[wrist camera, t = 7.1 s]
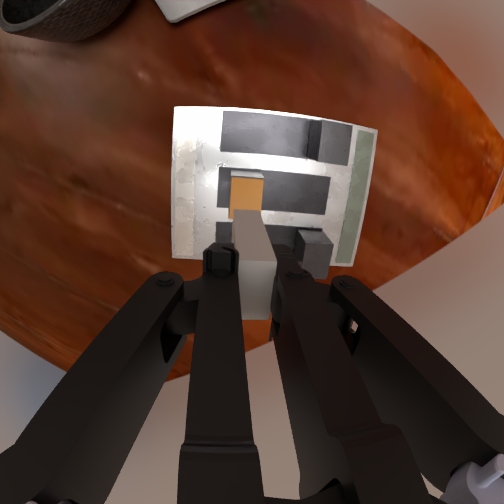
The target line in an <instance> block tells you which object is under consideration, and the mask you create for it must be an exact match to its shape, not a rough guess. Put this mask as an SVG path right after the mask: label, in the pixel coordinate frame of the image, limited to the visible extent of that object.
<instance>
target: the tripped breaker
mask: <svg viewBox="0 0 504 504" xmlns="http://www.w3.org/2000/svg"><path fill="white" fill-rule="evenodd" d="M263 188H264V176H263V175H262V173H261V172H259V171H245V170H231V179H230V194H229V211H228V218H229V219H233V209H241V210H259V212H260V214H261V209H262V198H263Z"/></svg>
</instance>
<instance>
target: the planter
mask: <svg viewBox="0 0 504 504" xmlns="http://www.w3.org/2000/svg"><path fill="white" fill-rule="evenodd" d="M130 1H131V0H0V28H1V29H2V30H4V31H5V32H7V33H10V34H15V35H20V36H25V37H30V38H35V39H39V40H45V41H50V42H73V41H79V40H82V39H85V38H88V37H90V36H93V35H94V34H96V33H98V32H100V31H101V30H103V29H105V28H106V27H107V26H109V25H110V24H111V23H113V22H114V21H115V20H116V19H117V18H118V17H119V16H120V15H121V14H122V13H123V11H124V10H125V9H126V7H127V6H128V5H129V3H130Z"/></svg>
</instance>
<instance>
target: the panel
mask: <svg viewBox="0 0 504 504" xmlns="http://www.w3.org/2000/svg"><path fill="white" fill-rule="evenodd" d="M377 131H378V130H375V129H371V128H367V127H363V126H359V125H354V124H350V123H345V122H340V121H335V120H330V119H324V118H318V117H312V116H306V115H299V114H292V113H284V112H276V111H267V110H256V109H244V108H227V107H175V108H174V123H173V141H172V170H171V232H172V258H183V259H201V260H203V251H204V250H205V249H206V248H208V247H209V246H210V245H211V244H212V243H213V242H217V243H232V224H233V219H229V218H228V211H229V194H230V179H231V170H245V171H259V172H261V173H262V175H263V176H264V188H263V198H262V209H261V217H262V220H263V223H264V226H265V228H266V231H267V234H268V237H269V240H270V242H271V244H285V245H287V246H288V247H289V248H291V250H292V252H293V255H294V256H295V259H296V260H297V262H298V264H299V266H300V268H303V269H305V270H307V271H309V272H310V274H311V275H312V277H313V278H314V279H327V275H328V270H329V266H353V262H354V258H355V254H356V250H357V245H358V241H359V237H360V232H361V228H362V223H363V218H364V213H365V208H366V203H367V198H368V192H369V187H370V181H371V175H372V168H373V162H374V155H375V147H376V140H377Z"/></svg>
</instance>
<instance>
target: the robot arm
mask: <svg viewBox="0 0 504 504" xmlns="http://www.w3.org/2000/svg"><path fill="white" fill-rule="evenodd" d="M270 312H271V313H272V322H271V329H270V335H269V341H272V337H273V340H274V345H275V350H276V355H277V360H278V365H279V369H280V374H281V379H282V384H283V389H284V394H285V399H286V404H287V409H288V414H289V419H290V424H291V429H292V434H293V439H294V444H295V449H296V454H297V459H298V464H299V469H300V483H299V495H300V500H291V499H281V498H272V497H264V492H263V484H262V476H261V467H260V460H259V453H258V449H257V446H256V445H255V444H254V439H253V432H252V422H251V412H250V402H249V392H248V381H247V372H246V361H245V349H244V337H243V326H242V320H269V319H270ZM353 321H355V322H356V323H357V324H358V327H357V330H356V332H355V331H354V330H353V329H352V328H351V327H352V324H353ZM191 333H195V335H194V344H193V353H192V362H191V372H190V382H189V392H188V404H187V417H186V430H185V440H184V443H183V444H182V445H181V449H180V456H179V470H178V491H177V492H178V493H177V504H504V416H503V415H502V414H500V413H498V411H497V410H496V409H495V408H494V407H493V406H492V405H491V404H490V403H489V402H488V401H487V400H486V399H485V398H484V397H483V396H482V394H481V393H479V391H478V390H477V389H475V387H474V386H473V385H472V384H471V383H470V382H469V381H468V380H467V379H466V378H465V377H464V376H463V375H462V374H461V373H460V372H459V371H458V370H457V369H456V368H455V367H454V366H453V365H452V364H451V363H450V362H448V360H447V359H446V358H444V357H443V356H442V355H441V354H440V353H439V352H438V351H437V350H436V349H435V348H434V347H433V346H432V345H431V344H430V343H429V342H428V341H427V340H425V339H424V338H423V337H422V336H421V335H420V334H419V333H418V332H417V331H416V330H415V329H414V328H413V327H412V326H410V325H409V324H408V323H407V322H406V321H405V320H404V319H403V318H401V317H400V316H399V315H398V314H397V313H396V312H395V311H394V310H393V309H392V308H390V307H389V306H388V305H387V304H386V303H385V302H384V301H383V300H381V299H380V298H379V297H378V296H376V294H375V293H373V292H372V291H371V290H370V289H369V288H368V287H366V286H365V285H364V284H363V283H362V282H361V281H359V280H357V279H356V278H353V277H352V276H347V275H341V276H336V277H334V278H333V279H332V282H331V285H328V284H323V283H318V282H315V280H314V278H313V277H312V275H311V274H310V272H309V271H307V270H305V269H303V268H300V266H299V264H298V262H297V260H296V259H295V256H294V255H293V252H292V250H291V248H289V247H288V246H287V245H285V244H271V242H270V240H269V237H268V234H267V231H266V228H265V226H264V223H263V220H262V217H261V214H260V212H259V210H241V209H233V224H232V243H217V242H213V243H212V244H211V245H210V246H209V247H208V248H206V249H205V250H204V251H203V275H202V276H201V277H200V278H198V279H195V280H191V281H186V282H183V278H182V276H180V275H179V274H177V273H173V272H159V273H157V274H154V275H152V276H151V277H149V278H148V280H147V281H146V282H145V283H144V284H143V285H142V286H141V287H140V288H139V289H138V290H137V291H136V293H135V294H134V295H133V296H132V297H131V298H130V299H129V300H128V301H127V302H126V304H125V305H124V306H123V307H122V308H121V309H120V310H119V311H118V313H117V314H116V315H115V316H114V317H113V318H112V319H111V320H110V322H109V323H108V324H107V325H106V326H105V327H104V329H103V330H102V331H101V332H100V333H99V334H98V336H97V337H96V338H95V339H94V340H93V341H92V343H91V344H90V345H89V346H88V347H87V349H86V350H85V351H84V352H83V353H82V355H81V356H80V357H79V358H78V359H77V361H76V362H75V363H74V364H73V366H72V367H71V368H70V369H69V371H68V372H67V373H66V375H65V376H64V377H63V378H62V379H61V381H60V382H59V383H58V385H57V386H56V387H55V388H54V390H53V391H52V392H51V394H50V395H49V396H48V398H47V399H46V400H45V402H44V403H43V404H42V406H41V407H40V409H39V410H38V411H37V413H36V414H35V415H34V417H33V418H32V419H31V421H30V422H29V424H28V425H27V427H26V428H25V429H24V431H23V432H22V434H21V435H20V436H19V438H18V439H17V441H16V442H15V444H14V445H12V446H11V447H9V448H8V449H6V450H5V451H4V452H2V453H1V454H0V504H104V503H105V501H106V499H107V497H108V495H109V494H110V492H111V489H112V487H113V485H114V483H115V481H116V479H117V477H118V475H119V473H120V471H121V469H122V467H123V465H124V462H125V460H126V458H127V456H128V454H129V452H130V450H131V448H132V446H133V443H134V442H135V440H136V438H137V436H138V434H139V432H140V429H141V428H142V426H143V424H144V422H145V420H146V418H147V415H148V413H149V411H150V410H151V408H152V406H153V404H154V402H155V400H156V398H157V396H158V394H159V392H160V390H161V388H162V386H163V384H164V382H165V380H166V378H167V376H168V374H169V372H170V370H171V368H172V366H173V364H174V362H175V361H176V359H177V357H178V355H179V353H180V351H181V349H182V347H183V345H184V343H185V341H186V339H187V334H191ZM420 472H421V473H422V475H423V476H424V477H425V478H426V479H427V480H428V481H429V482H430V483H431V484H432V485H433V486H435V487H436V488H437V489H439V490H440V491H442V492H443V494H442V495H441V497H440V499H438V498H436V497H434V496H432V495H430V494H429V493H428V490H427V488H426V485H425V483H424V480H423V478H422V475H421V473H420Z"/></svg>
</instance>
